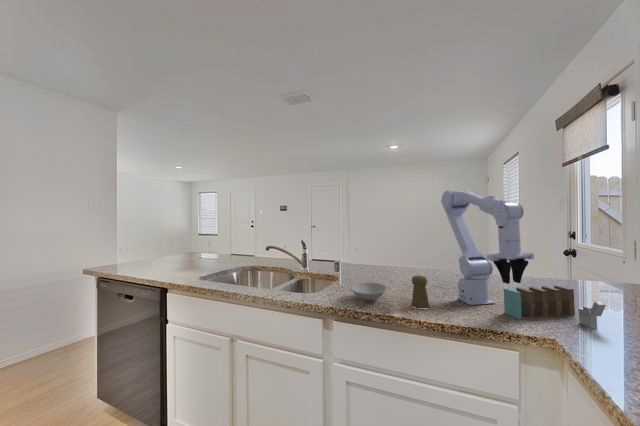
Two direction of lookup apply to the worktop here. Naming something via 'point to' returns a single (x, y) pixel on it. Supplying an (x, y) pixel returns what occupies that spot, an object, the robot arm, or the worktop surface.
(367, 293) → the dish
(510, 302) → the teal domino
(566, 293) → the walnut domino
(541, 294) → the walnut domino
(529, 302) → the walnut domino
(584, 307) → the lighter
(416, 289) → the olive upright piece
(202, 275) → the worktop surface
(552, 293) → the walnut domino
